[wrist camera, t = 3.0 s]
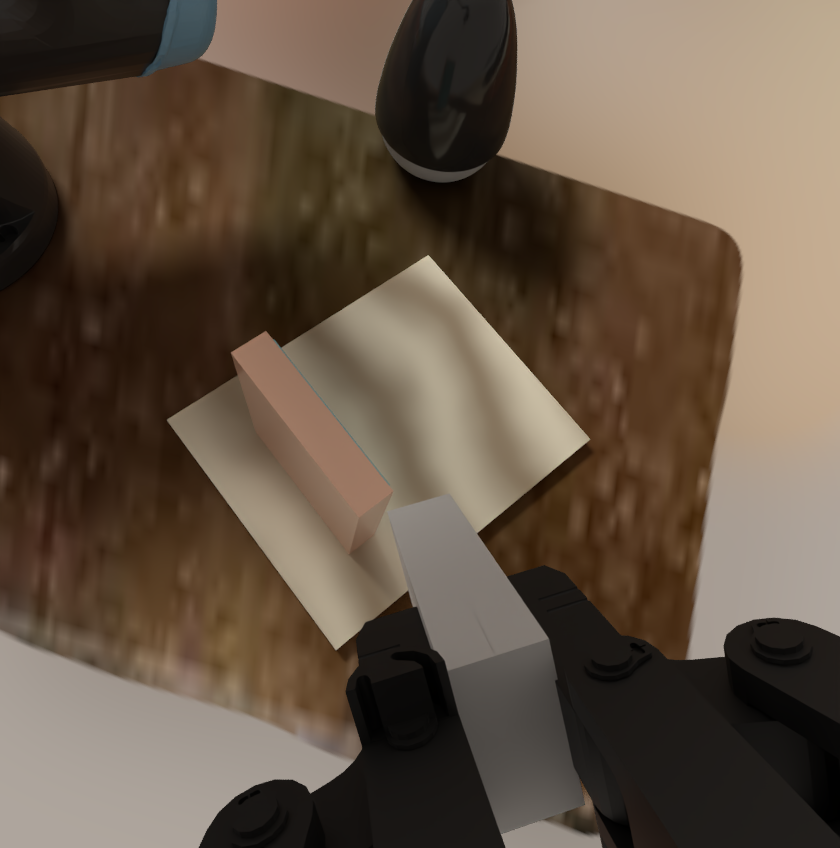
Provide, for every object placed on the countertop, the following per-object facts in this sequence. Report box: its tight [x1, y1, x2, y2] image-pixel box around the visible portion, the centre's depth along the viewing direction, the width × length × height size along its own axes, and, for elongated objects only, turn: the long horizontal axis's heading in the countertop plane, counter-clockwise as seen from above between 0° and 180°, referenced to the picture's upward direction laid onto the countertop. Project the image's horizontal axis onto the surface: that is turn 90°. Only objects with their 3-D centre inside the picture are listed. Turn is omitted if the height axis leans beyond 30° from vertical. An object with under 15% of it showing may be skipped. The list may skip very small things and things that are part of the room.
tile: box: [231, 331, 393, 554], centre depth 36 cm, size 2×10×12 cm, turn 39°
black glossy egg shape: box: [375, 0, 517, 182], centre depth 45 cm, size 10×10×15 cm
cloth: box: [167, 255, 590, 650], centre depth 44 cm, size 22×18×1 cm
